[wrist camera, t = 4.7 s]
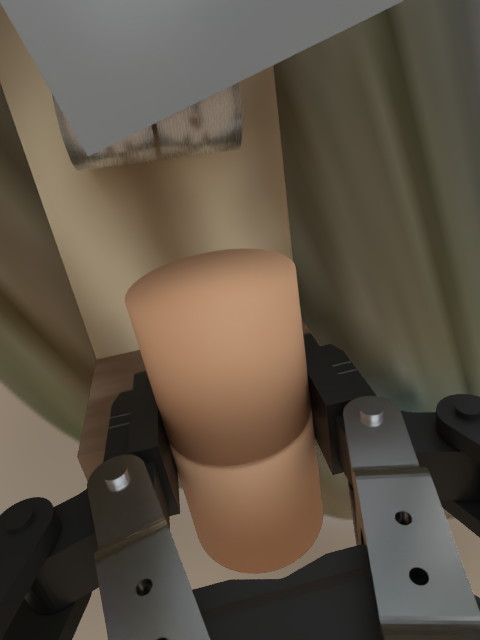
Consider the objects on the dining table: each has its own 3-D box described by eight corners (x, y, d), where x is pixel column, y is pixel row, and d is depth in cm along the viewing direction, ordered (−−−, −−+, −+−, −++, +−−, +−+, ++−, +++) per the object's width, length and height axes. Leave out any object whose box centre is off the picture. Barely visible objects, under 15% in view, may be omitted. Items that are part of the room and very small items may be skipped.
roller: (108, 281, 11) (152, 342, 8) (245, 238, 13) (332, 275, 9) (178, 498, 15) (228, 601, 12) (280, 447, 16) (350, 527, 13)
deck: (224, -347, 16) (302, -804, 8) (296, 335, 28) (354, 424, 20) (-133, -322, 15) (-464, -832, 7) (108, 378, 27) (91, 491, 19)
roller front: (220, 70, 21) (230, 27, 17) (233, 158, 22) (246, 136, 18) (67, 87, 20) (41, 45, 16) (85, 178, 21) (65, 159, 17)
